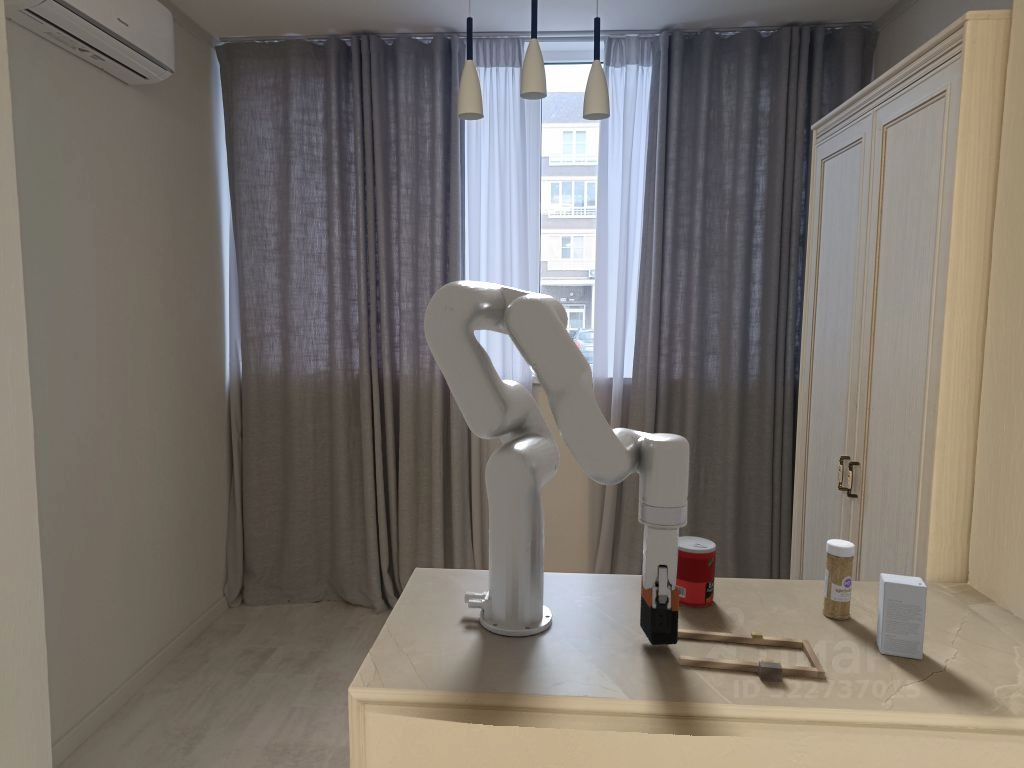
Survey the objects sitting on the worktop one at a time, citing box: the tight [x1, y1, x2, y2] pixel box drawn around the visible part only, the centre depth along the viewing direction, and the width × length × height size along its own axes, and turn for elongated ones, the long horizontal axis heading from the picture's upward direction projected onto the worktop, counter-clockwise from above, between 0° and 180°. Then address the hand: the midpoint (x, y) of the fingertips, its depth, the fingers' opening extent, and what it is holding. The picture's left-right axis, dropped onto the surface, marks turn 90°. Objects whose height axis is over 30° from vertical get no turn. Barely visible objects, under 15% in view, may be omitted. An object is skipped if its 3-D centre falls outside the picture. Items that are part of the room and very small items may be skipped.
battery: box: [639, 574, 680, 646], centre depth 110 cm, size 4×7×10 cm, turn 6°
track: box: [678, 628, 826, 682], centre depth 107 cm, size 21×12×2 cm, turn 80°
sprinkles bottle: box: [822, 538, 856, 621], centre depth 122 cm, size 5×5×13 cm
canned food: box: [676, 535, 717, 608], centre depth 128 cm, size 8×8×11 cm
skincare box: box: [876, 572, 928, 660], centre depth 110 cm, size 6×4×12 cm
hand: (659, 619), depth 110 cm, fingers closed on battery, 7 cm apart
